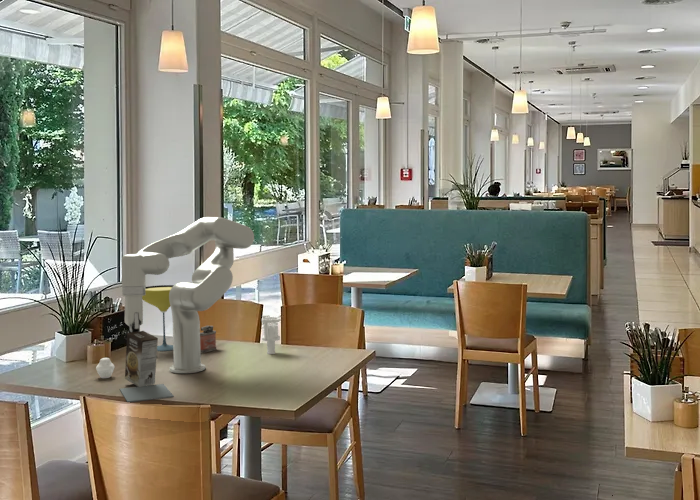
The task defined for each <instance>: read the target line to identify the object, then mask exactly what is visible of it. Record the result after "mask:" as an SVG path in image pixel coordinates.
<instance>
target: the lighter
mask: <svg viewBox="0 0 700 500" xmlns="http://www.w3.org/2000/svg"><path fill="white" fill-rule="evenodd" d="M216 334H217V331H216V330H214V325H205V326H200V352H201V353H208V352H212V351H215V350H217V344H216V343H217V339H216V336H217V335H216Z"/></svg>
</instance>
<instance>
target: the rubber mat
mask: <svg viewBox="0 0 700 500" xmlns="http://www.w3.org/2000/svg"><path fill="white" fill-rule="evenodd" d="M119 391H120V393H121V394H122V397H123V398H124V399H125V401H126V403H135V402H143V401H149V400H151V401H152V400H158V399H159V400H160V399H167V398H174V395H173V393H172V392H171V391H170V389H169V388H168V387H167V386H166V385H165V384H164V383H159V384H152V385H147V386H142V387H138V386H132V387H131V386H130V387H124V388H122V387H121V388H119Z"/></svg>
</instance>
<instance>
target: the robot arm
mask: <svg viewBox="0 0 700 500" xmlns="http://www.w3.org/2000/svg"><path fill="white" fill-rule="evenodd" d="M254 234H255V233H254V231H253V230H252V229H251V227H249V226H247V225H245V224H242V223H240V222H237V221H234V220H231V219H228V218H224V217H221V216H204V217H201V218H198V219H197V220H196V221H194V222H193V223H191V224H189V225H188V226H186V227H185V228H184V229H183V228H182V230H179V231H178V232H176V233H174V234H171V235H169V236H167V237H164V238H162V239H160V240H157V241H155V242H152V243H151V244H149V245H147V246H145V247H143V248H141V249H140V250H139V251H138V252H136V253H129V254H128V253H127V254H124V255H123V256H122V257H121V289H122V291H121V293H122V295H121V296H123V297H124V323H125V325H127V326H128V327H129V333H130V332H139V331H141V329H140V328H141V327H140V326H142V325H143V324H144V321H143V320H144V312H143V311H144V309H143V308H144V307H143V305H144V304H143V299H142V296H144V295H146V288H145V287H146V275H154V276H158V275H163V274H164V273H166V272H168V270H169V268H170V259H173V258H178V257H183V256H187V255H190V254H192V253H193V252H195V251H196V250H198V249H199V248H201V247H202V246H204V245H205V244H207V243H209V242H210V241H214V242H215V243H214V246H215V247H214V251H213V252H212V254H210V256H209V257H208V258H207V259H206V260H205V261H204V262H202V263H201V265H199V266H198V267H197V268H196V269H195V270H194V272H192V275H191V282H190V281H181V282H177V283H175V284H174V286H173V287H172V288H171V290H170V293H169V301H170V308H171V317H172V318H171V319H172V343H173V344H172V345H173V350H172V354H173V364H172V365H171V366H169V368H168V369H169V372H171V373H174V374H193V373H200V372H202V371H204V370H205V369H206V365H205V364H204V363H202V361H201V359H202V356H201V353H202V352H200V333H201V320H200V315H199V312H204V311H207V310H208V309H210V308H211V307H213V305H214V304H215V303H217V301H218V300H219V299H221V297H223V296H224V295H225V294H226V293H227V292H228V291H229V289H230V288H231V286H232V283H233V277H234V276H233V272H232V270H231V268H232V267H233V265H234V258H235V257H234V249H240V250H244V249H248V248H251V246H252V245H253V243H254V241H255V240H254V239H255V235H254Z"/></svg>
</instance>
